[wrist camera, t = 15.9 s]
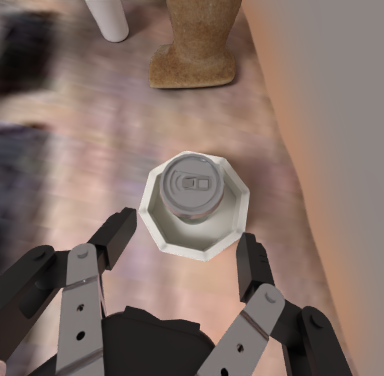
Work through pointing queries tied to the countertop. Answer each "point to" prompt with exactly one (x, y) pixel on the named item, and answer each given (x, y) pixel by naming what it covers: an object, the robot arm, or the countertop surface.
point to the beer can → (192, 187)
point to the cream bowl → (204, 232)
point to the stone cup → (196, 45)
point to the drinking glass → (109, 18)
